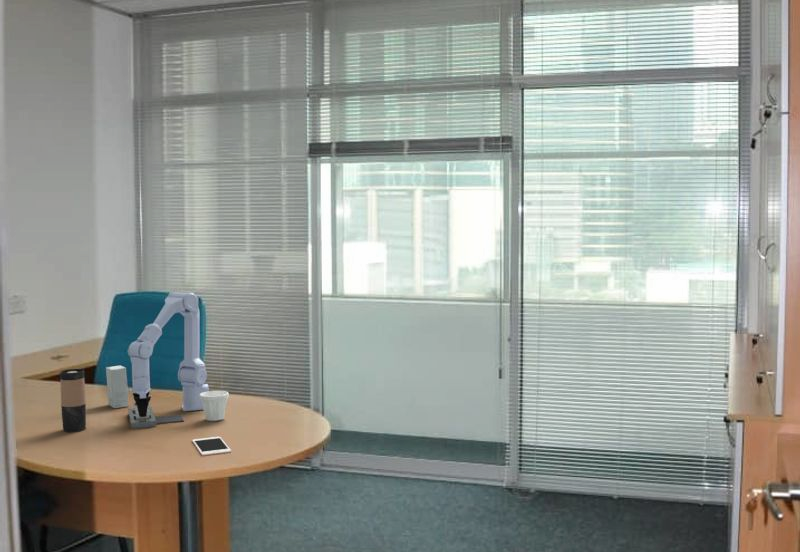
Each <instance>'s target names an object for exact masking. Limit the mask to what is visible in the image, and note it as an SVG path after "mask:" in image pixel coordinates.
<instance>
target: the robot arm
mask: <svg viewBox="0 0 800 552" xmlns="http://www.w3.org/2000/svg"><path fill="white" fill-rule="evenodd" d="M200 312H201V311H200V308H199V297H198V296H197V295H196V294H195V293H194V292H184V291H183V292H181V291H180V292H179V291H171V292H169V294H168V295H167V297H165V299H164V305H163V306H162V308H161V310H160V312H159V313H158V315H156V318H155V320H154V321H153V323H150V324H147V325H145V327H144V329H143V331H142V332H141V334H140V335H139V336H138V337H137V340H135V341H132V342H131V343H130V345H129V346H128V349H127V351H126V352H127V354H128V355H127V356H129V357H130V363H131V380H132V388H129V389H128V393H132V396H133V400H134V402H136V404H137V407H138V412H139V416H140V417H146V415H147V408H148V404H149V402H150V401H151V399H152V396H151V395H150V393H151V390H152V388H151V382H150V380H151V379H150V378H151V377H150V376H151V375H150V357H151V356H152V355H153V351H154V348H155V344H156V343H157V341H158V340H159V338H160V337H161V336H162V335H163V331H162V329H163V327H164V326H166V324H168V322H169V321H170V319H171V318H172V317H173V316H174V315H175V314H177V313H179V314H180V315H182V316H183V319H184V323H183V324H184V327H183V329H184V332H183V334H184V341H183V342H184V343H183V344H184V345H183V346H184V348H183V350H184V351H183V360H182V361H181V362H180V363H179V368H178V371H177V379H178V381H179V382H180V383H181V384H180V385H181V386H182V405H181V409H182V411H183V412H191V411H192V412H193V411H199V410H203V406H202V402H201V399H200V394H201V393H203V392H208V391H210V388H209V384H208V383H206V381H207V378H208V373H207V369H206V364H205V362H203V360H202V359H201V358H200V349H201V348H200V345H201V344H200V342H201V341H200V338H201V337H200V315H201V313H200ZM203 411H204V410H203Z"/></svg>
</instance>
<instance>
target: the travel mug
mask: <svg viewBox="0 0 800 552" xmlns="http://www.w3.org/2000/svg"><path fill="white" fill-rule="evenodd" d="M59 374H60V375H59V376H60V380H59V381H60V407H61V420H62V429H63V432H65V433H78V432H82V431H85V430H86V429H87V427H86V425H87V424H86V423H87V420H86V419H87V418H86V416H87V413H86V412H87V409H86V408H87V407H86V403H87V402H86V384H85V383H86V382H85V370H84V369H82V368H72V369H64V370H61V371H60V372H59Z"/></svg>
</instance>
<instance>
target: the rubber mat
mask: <svg viewBox="0 0 800 552" xmlns="http://www.w3.org/2000/svg"><path fill="white" fill-rule="evenodd" d="M155 419H156V425H159V424H160V425H161V424H170V423H173V424H174V423H181V422H184V418H183V416H182V414H174V415H173V414H171V415H163V416H162V415H160V416H155Z"/></svg>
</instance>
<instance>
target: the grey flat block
mask: <svg viewBox="0 0 800 552" xmlns="http://www.w3.org/2000/svg"><path fill="white" fill-rule="evenodd" d="M127 412H128V419H129V423H130V427H131V430H135V429H136V430H137V429H146V428H154V427H155V428H156V427H157V423H156V419H155V417H156V416H155V414H154V411H153V408H152V406H149V418H150V419H140V420H136V418H135V407H134V408H128V410H127Z"/></svg>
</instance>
